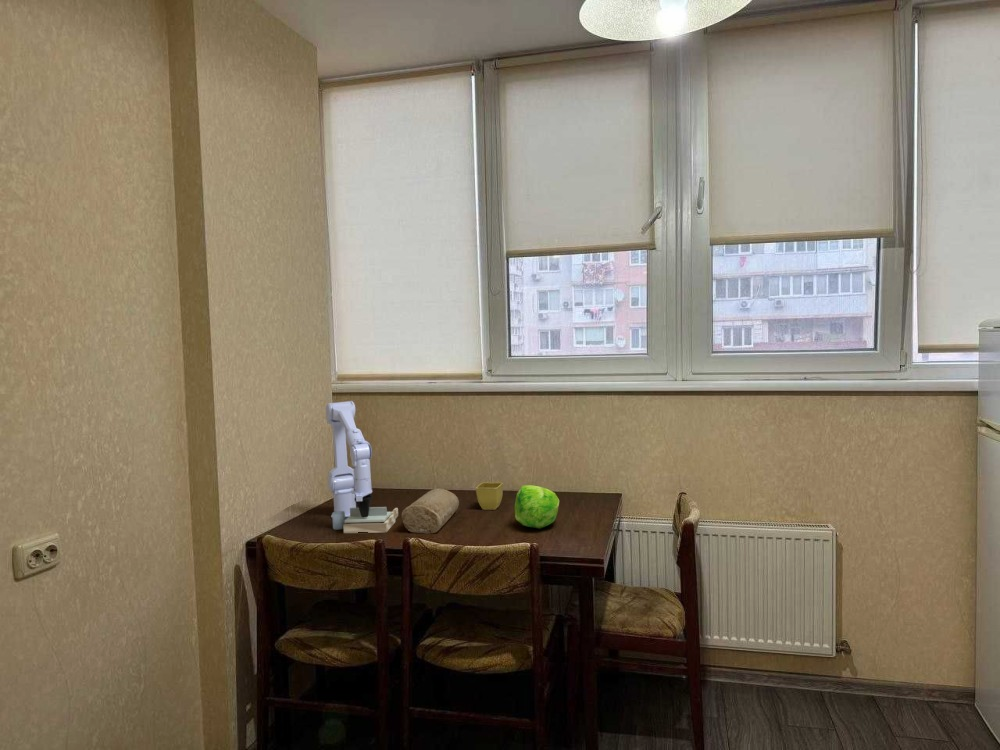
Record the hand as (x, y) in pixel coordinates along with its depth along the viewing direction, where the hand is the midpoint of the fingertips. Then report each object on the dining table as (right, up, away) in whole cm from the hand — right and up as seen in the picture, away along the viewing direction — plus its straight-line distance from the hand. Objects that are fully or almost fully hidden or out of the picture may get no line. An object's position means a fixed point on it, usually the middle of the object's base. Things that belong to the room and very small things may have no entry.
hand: (364, 516), depth 230 cm
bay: (+1, -4, +8) cm, 9 cm away
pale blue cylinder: (-10, -5, +6) cm, 13 cm away
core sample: (+23, -4, +5) cm, 24 cm away
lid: (0, -1, +4) cm, 4 cm away
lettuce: (+60, -2, -4) cm, 60 cm away
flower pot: (+44, -2, +21) cm, 48 cm away
